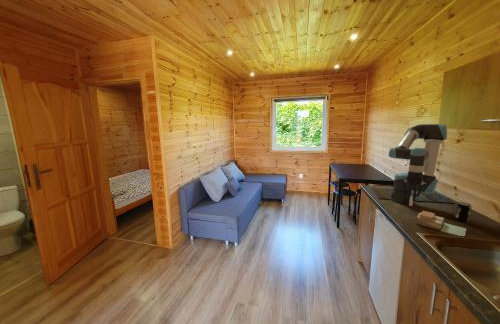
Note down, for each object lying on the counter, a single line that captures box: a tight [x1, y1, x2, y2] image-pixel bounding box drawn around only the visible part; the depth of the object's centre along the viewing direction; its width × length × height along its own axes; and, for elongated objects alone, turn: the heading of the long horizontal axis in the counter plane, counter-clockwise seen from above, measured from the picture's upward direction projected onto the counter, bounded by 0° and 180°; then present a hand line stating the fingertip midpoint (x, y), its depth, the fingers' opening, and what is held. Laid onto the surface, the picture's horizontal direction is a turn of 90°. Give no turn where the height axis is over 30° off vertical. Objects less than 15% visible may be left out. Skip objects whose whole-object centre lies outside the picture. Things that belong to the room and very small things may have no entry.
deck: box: [414, 211, 445, 231], centre depth 133 cm, size 12×12×4 cm
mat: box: [440, 222, 467, 237], centre depth 124 cm, size 14×10×1 cm
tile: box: [420, 210, 436, 221], centre depth 133 cm, size 9×6×2 cm, turn 131°
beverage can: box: [454, 201, 472, 224], centre depth 135 cm, size 7×7×12 cm
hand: (410, 205), depth 139 cm, fingers closed
